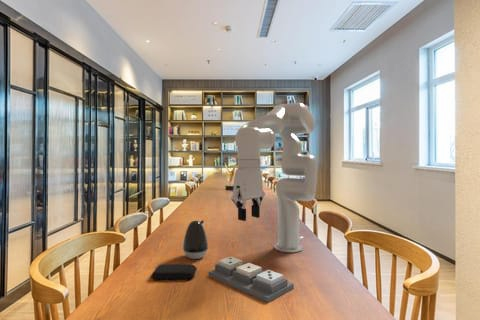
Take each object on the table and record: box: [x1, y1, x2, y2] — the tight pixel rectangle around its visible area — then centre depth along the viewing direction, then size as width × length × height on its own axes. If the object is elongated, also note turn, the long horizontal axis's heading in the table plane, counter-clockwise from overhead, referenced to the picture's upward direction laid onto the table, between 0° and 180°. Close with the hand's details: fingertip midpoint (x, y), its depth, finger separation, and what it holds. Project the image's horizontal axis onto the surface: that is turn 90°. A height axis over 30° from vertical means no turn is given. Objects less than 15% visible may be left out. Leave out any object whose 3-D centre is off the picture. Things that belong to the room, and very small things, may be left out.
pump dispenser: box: [182, 220, 209, 260], centre depth 126 cm, size 10×10×15 cm
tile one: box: [236, 262, 263, 277], centre depth 102 cm, size 6×6×2 cm
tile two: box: [218, 256, 243, 269], centre depth 109 cm, size 6×6×2 cm
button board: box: [208, 262, 295, 303], centre depth 102 cm, size 13×27×4 cm, turn 45°
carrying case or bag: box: [150, 263, 198, 281], centre depth 108 cm, size 11×3×15 cm
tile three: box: [257, 269, 284, 286], centre depth 96 cm, size 6×6×2 cm
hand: (248, 218), depth 102 cm, fingers open, 5 cm apart
